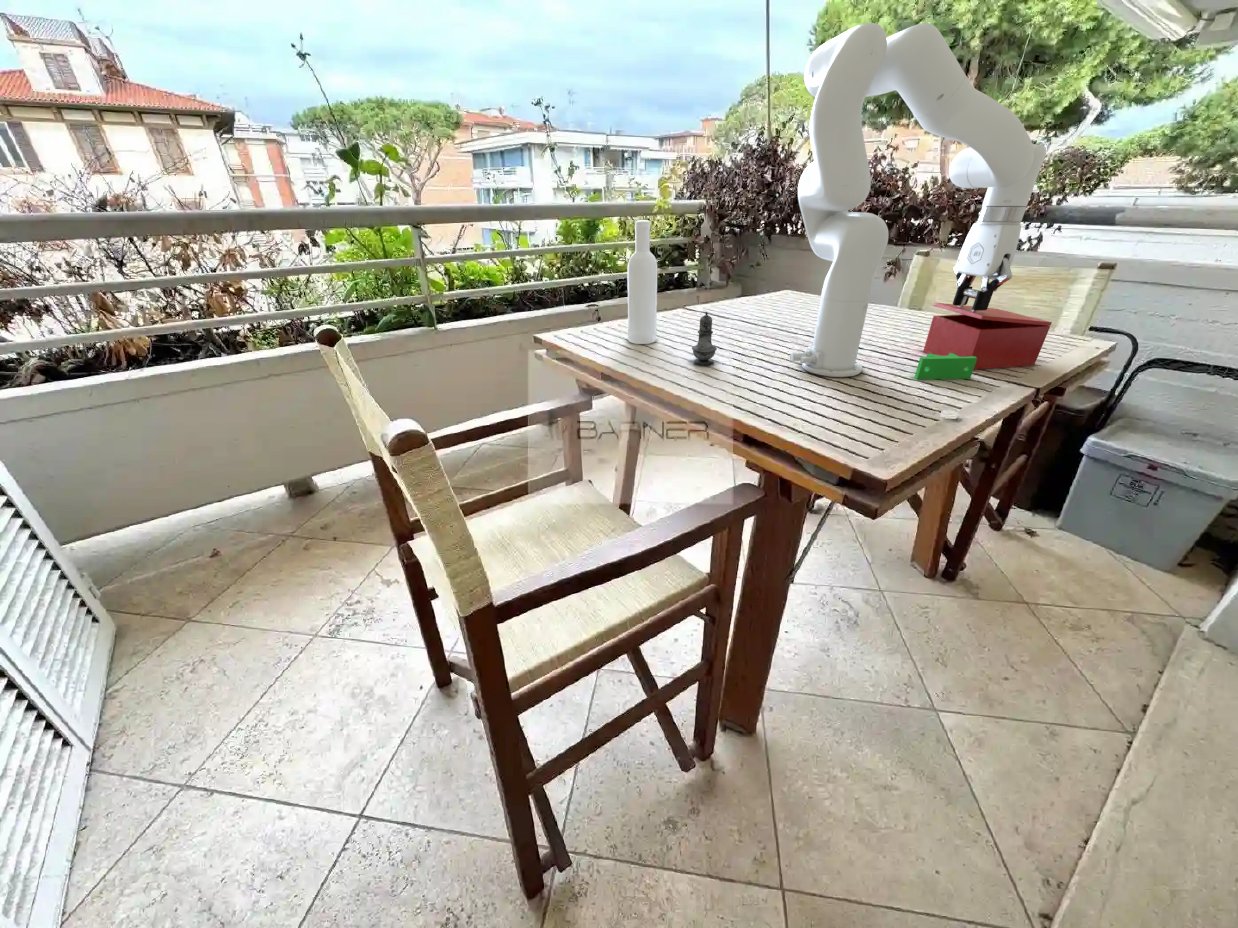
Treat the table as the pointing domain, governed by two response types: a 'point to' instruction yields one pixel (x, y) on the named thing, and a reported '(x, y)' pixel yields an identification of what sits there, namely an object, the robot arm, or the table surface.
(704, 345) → the salt shaker
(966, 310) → the red box lid
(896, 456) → the table surface
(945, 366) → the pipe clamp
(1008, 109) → the robot arm
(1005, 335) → the red hinged box
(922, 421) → the table surface
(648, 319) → the bottle
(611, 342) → the table surface
